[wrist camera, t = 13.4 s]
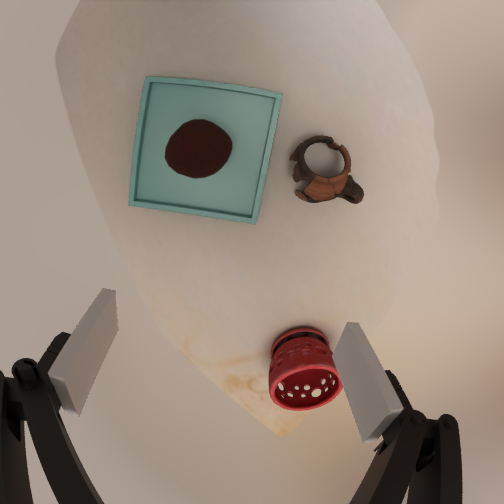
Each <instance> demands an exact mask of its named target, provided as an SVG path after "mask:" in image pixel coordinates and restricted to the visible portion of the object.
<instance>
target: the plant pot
mask: <svg viewBox="0 0 504 504" xmlns="http://www.w3.org/2000/svg"><path fill="white" fill-rule="evenodd" d="M332 355H333V353H332V351H331V350H330V349H329V342H328V340H327V338H326V337H325V336H324V335H323V334H322V333H320V332H319V331H316V330H314V329H309V328H300V329H295V330H291V331H289V332H287V333H285V334H283V335H282V336H281V337H279V338H278V339H277V341H276V342H275V343H274V345H273V347H272V350H271V359H272V361H271V364H270V369H269V393H270V397H271V399H272V400H273V402H274V403H275V404H277V405H278V406H280V407H282V408H285V409H288V410H295V411H302V410H310V409H314V408H318V407H320V406H322V405H325V404H327V403H329V402H330V401H332V399H334V398H335V397H336V396H337V395H338V394H339V393H340V392H341V390H342V388H343V385H342V382H341V380H340V377H339V374H338V372H337V369H336V366H335V364H334V361H333V358H332ZM330 374H331V379H330ZM323 379H326V382H325V384H324V385H322V384H321V382H322V380H323ZM334 380H335V384H334V385H333V381H334ZM279 382H280V383H281V384H282V385H283V387H284V390H283V391H282V390H280V389H279V387H278V384H279ZM306 385H308V386H310V389H309V390H304V386H306ZM295 386H298V387H299V390H296V389H295ZM327 387H328V390H327V391H326V392H325V389H326V388H327ZM315 389H321V395H320V396H318V397H313V396H312V395H311V393H312V392H313V391H314V390H315ZM287 393H291V394H293V397H290V396H288V394H287ZM302 394H305V395H306V397H301V395H302ZM281 395H282V396H283V397H284V398H283V397H282V396H281Z"/></svg>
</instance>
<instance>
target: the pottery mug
mask: <svg viewBox="0 0 504 504" xmlns="http://www.w3.org/2000/svg"><path fill="white" fill-rule="evenodd" d="M320 142H322V143H327V145H328V147H329V148H331V149H334V150H337V151H338V150H339V151H340V153H341V154H342V156H343V158H344V161H345V166H344V170H343V171H342V172H341V173H340V174H339V175H337V176H335V177H330V178H327V177H322V176H319V175H316V174H314V173H313V172H312V171H311V170H310V169H309V168H308V166H307V164H306V162H305V159H304V154H305V151H306V149H307V148H308V147H309V146H310V145H312V144H314V143H320ZM289 160H294V161H296V162H297V164H296V165H295V167H294V173H293V179H294V181H295V182H298V181H300V180H302V181H303V180H310V181H311V182H310V183H309V185H308V186H307V187H306V188H305V189H304V190H305V194H307V195H309V196H308V197H307V196H305V195H303V194H302V193H301V192H300V191H298V190H297V191H296V196H298V197H299V198H300V199H302V200H304V201H307V202H310V203H318V202H322V201H328V200H332V199H334V198H336V197H340V198H343V199H345V200H347V201H349V202H351V203H354V204H357V203H359V202H361V201H362V199H363V197H364V192H363V189H362V188H361V187H360V186H359V185H358V184H357V183H355V182H354V180H353V178H352V176H351V175H349V176H348V173H349V172H350V171H351V170H350V167H351V158H350V155H349V153H348V151H347V149H346V148H345V147H344V146H343V145H341V146H339V145H337V144H336V143H334V140H333V139H332V137H328V136H314V137H311V138H310V139H308V140H306V141H304V142H303V143H301V144H300V145H299V146H298V147H297V148H296V150H295V151H294V153H293V154H292V155H291V157H290V159H289Z"/></svg>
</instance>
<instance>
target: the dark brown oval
mask: <svg viewBox="0 0 504 504" xmlns="http://www.w3.org/2000/svg"><path fill="white" fill-rule="evenodd" d="M231 151H232V140H231V138H230V136H229V135H228V134H227V133H226V132H225V131H224V130H223V129H222V128H221V127H219V126H218V125H216V124H215V123H213V122H211V121H208V120H205V119H193V120H190V121H188V122H185V123H183V124H182V125H181V126H180V127H179V128H178V129H177V130H176V131H175V132H174V133H173V134H172V135H171V136H170V139H169V141H168V143H167V145H166V148H165V160H166V162H167V164H168V166H169V167H170V168H171V169H173V170H174V171H175V172H176V173H178V174H181V175H184V176H187V177H190V178H194V179H197V178H205V177H208V176H211V175H213V174H215V173H216V172H218V171H219V170H220V169H221V168H222V167H223V166H224V165H225V164H226V162H227V161H228V159H229V157H230V155H231Z"/></svg>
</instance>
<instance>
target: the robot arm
mask: <svg viewBox="0 0 504 504" xmlns="http://www.w3.org/2000/svg"><path fill="white" fill-rule="evenodd" d="M117 331H118V320H117V308H116V292H115V290H110V289H104V288H103V289H102V290H101V292H100V293H99V295H98V296H97V297H96V299H95V300H94V302H93V303H92V305H91V306H90V307H89V309H88V310H87V312H86V313H85V315H84V316H83V318H82V319H81V320H80V322H79V324H78V325H77V326H76V328H75V330H74V331H73V333H72V334H69V333H65V332H62V333H60V334H59V335H57V336H56V337H55V338H54V340H53V341H52V342H51V344H50V346H49V347H48V348H47V351H46V352H45V353H44V355H43V356H42V358H41V359H40V361H39V362H38V364H37V362H35V361H34V360H33V359H29V358H23V359H20V360H18V361H17V362H15V363H14V365H13V367H12V374H13V376H14V378H9V377H5V376H4V374H3V373H2V371H0V504H33V499H32V494H31V489H30V482H29V475H28V468H27V459H26V448H25V435H24V434H25V433H24V421H27V424H28V427H29V431H30V434H31V437H32V440H33V443H34V446H35V449H36V451H37V454H38V457H39V460H40V462H41V465H42V467H43V470H44V472H45V475H46V477H47V480H48V482H49V484H50V486H51V489H52V491H53V493H54V495H55V497H56V499H57V501H58V503H59V504H104V502H103V501H102V499H101V498H100V496H99V494H98V493H97V491H96V489H95V487H94V486H93V484H92V482H91V480H90V479H89V477H88V475H87V473H86V471H85V469H84V468H83V465H82V463H81V461H80V459H79V457H78V455H77V453H76V451H75V449H74V447H73V445H72V442H71V440H70V438H69V435H68V433H67V431H66V428H65V426H64V424H63V421H62V418H61V416H60V414H59V410H60V407H61V405H62V407H63V409H64V412H66V413H68V414H71V415H74V416H77V417H79V416H80V414H81V411H82V409H83V406H84V404H85V402H86V399H87V397H88V395H89V392H90V390H91V388H92V385H93V383H94V381H95V379H96V376H97V374H98V371H99V370H100V367H101V365H102V363H103V361H104V359H105V357H106V354H107V352H108V350H109V348H110V346H111V344H112V342H113V340H114V337H115V335H116V334H117ZM332 358H333V361H334V364H335V366H336V369H337V372H338V374H339V377H340V380H341V382H342V385H343V388H344V390H345V393H346V396H347V399H348V401H349V404H350V407H351V410H352V413H353V415H354V418H355V421H356V424H357V427H358V430H359V432H360V435H361V438H362V441H363V443H366V442H372V441H376V440H377V439H378V438H379V437H380V436H381V435H382V436H383V439H384V440H383V441H382V442H381V443H380V444H379V445H378V446H377V447H376V448H375V450H374V451H376V450H377V449H378V450H377V453H376V455H375V457H374V459H373V461H372V463H371V465H370V467H369V469H368V471H367V473H366V475H365V477H364V479H363V480H362V483H361V484H360V486H359V488H358V490H357V491H356V493H355V495H354V497H353V498H352V500H351V502H350V504H401V503H402V501H403V498H404V496H405V493H406V491H407V488H408V486H409V492H408V499H407V504H462V461H461V447H460V437H459V429H458V423H457V421H456V419H455V418H454V417H453V416H451V415H449V414H443V415H441V416H440V418H439V419H438V420H432V419H426V417H425V415H424V414H423V413H421V412H420V411H417V410H413V408H412V406H411V405H410V402H409V400H408V398H407V397H406V395H405V393H404V391H403V390H402V387H401V385H399V384H400V383H399V382H398V380H397V378H396V376H395V375H394V374H392V373H391V371H390V370H384V369H383V367H382V365H381V363H380V361H379V359H378V357H377V356H376V354H375V352H374V350H373V348H372V346H371V345H370V343H369V341H368V339H367V337H366V336H365V334H364V332H363V330H362V328H361V327H360V325H359V323H353V322H347V324H346V326H345V328H344V331H343V333H342V335H341V338H340V340H339V342H338V344H337V346H336V349H335V351H334V353H333V355H332Z"/></svg>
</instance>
